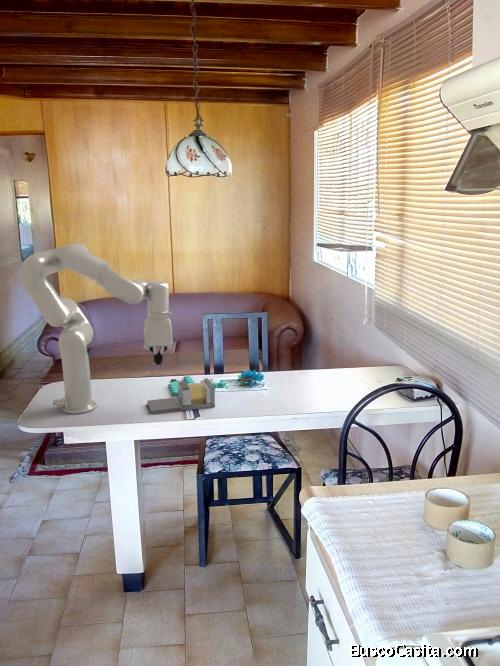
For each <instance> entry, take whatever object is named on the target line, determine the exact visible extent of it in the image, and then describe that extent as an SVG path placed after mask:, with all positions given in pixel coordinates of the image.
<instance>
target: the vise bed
mask: <svg viewBox="0 0 500 666" xmlns="http://www.w3.org/2000/svg"><path fill="white" fill-rule="evenodd" d="M200 383H203V385H204V386H205V401H201V402H192V403H191V405H188V406H183V405H182V403H181V401H180V399H179V397H176V396H174V397H169V398H160V399H159V398H157V399H149V400H147V401H146V405H147V408H148V410H149V412H150V415H151V414H152V415H159V414H167V413H174V412H175V413H176V412H183V411H184V412H185V411H191V410H192V409H194V410H200V409H209V408H215V407H216V404H215V403H216V402H215V401H216V400H215V398H216V396H215V393H216V388H215V387H214V386H213V384H212V383H213V382H211V380H210V379H209V378H208V377H207V378H203V380H200ZM192 411H193V410H192Z"/></svg>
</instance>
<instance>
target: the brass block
mask: <svg viewBox="0 0 500 666" xmlns="http://www.w3.org/2000/svg"><path fill="white" fill-rule="evenodd" d="M196 383H197V382H196ZM187 385H188V386H189V388H190V390H191V403H192V402H201V401H205V386H204V385H203V383H201V382H200V383H199V382H198V383H197V384H187Z"/></svg>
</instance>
